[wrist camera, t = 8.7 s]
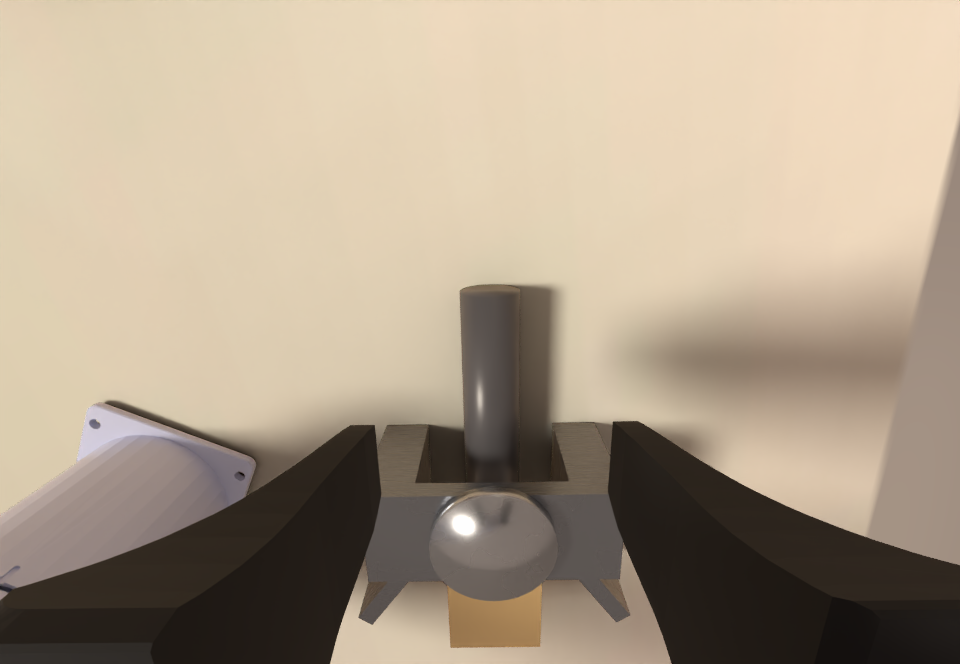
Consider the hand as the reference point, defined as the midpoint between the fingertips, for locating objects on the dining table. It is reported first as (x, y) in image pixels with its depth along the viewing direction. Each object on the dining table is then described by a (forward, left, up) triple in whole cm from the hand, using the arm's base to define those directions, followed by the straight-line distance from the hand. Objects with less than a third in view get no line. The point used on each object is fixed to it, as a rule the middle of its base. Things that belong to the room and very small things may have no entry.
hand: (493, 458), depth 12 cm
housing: (-7, -3, -10) cm, 13 cm away
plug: (-5, -3, -10) cm, 12 cm away
